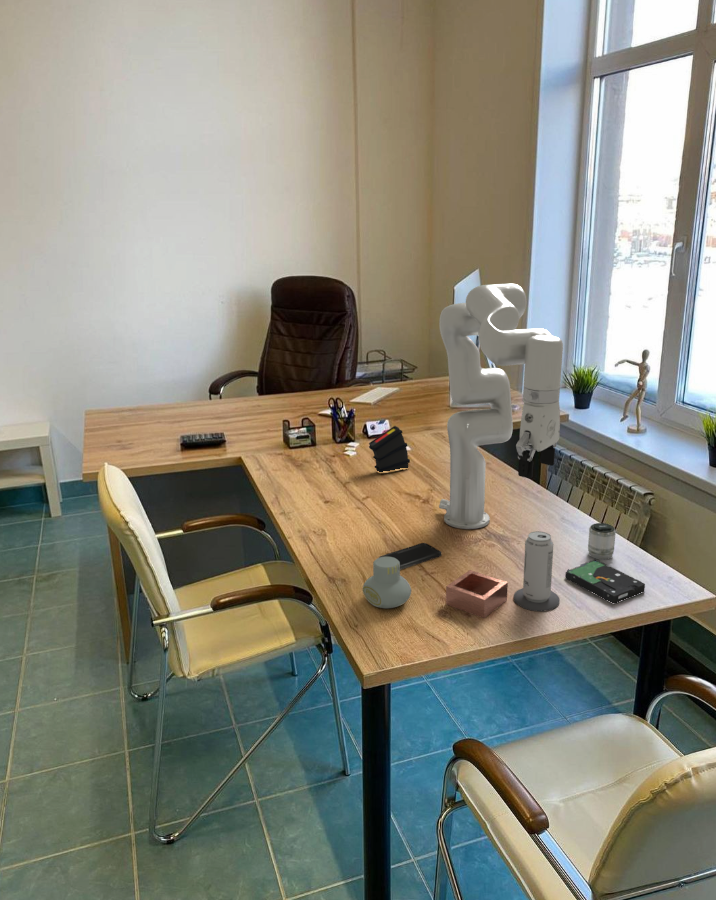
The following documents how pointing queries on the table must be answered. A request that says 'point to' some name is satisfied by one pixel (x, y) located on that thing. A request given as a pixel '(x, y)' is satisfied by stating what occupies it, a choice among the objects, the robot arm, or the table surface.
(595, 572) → the disk drive
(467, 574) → the collar
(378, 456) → the magazine
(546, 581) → the energy drink can
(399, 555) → the phone
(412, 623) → the table surface
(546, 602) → the mat
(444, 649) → the table surface
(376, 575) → the air freshener
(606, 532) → the camera lens
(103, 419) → the table surface
